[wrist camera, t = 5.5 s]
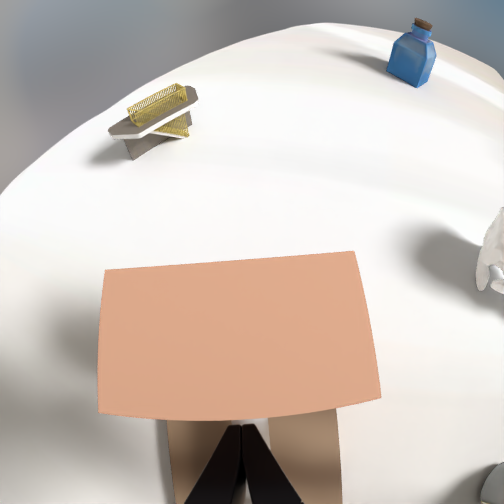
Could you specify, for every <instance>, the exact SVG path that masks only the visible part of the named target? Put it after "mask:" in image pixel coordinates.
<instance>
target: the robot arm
mask: <svg viewBox="0 0 504 504" xmlns="http://www.w3.org/2000/svg"><path fill="white" fill-rule="evenodd" d="M246 480H247V484H248V489H249V493H250V497H251V502H252V504H305V503H304V502H302V499H301V498H300V496H299V495H298V493H297V492H296V490H295V489H294V487H293V486H292V484H291V483H290V481H289V480H288V478H287V476H286V475H285V473H284V472H283V470H282V468H281V467H280V465H279V464H278V462H277V460H276V459H275V457H274V455H273V454H272V452H271V450H270V449H269V447H268V445H267V444H266V442H265V440H264V439H263V437H262V435H261V434H260V432H259V430H258V428H257V427H256V425H255V424H253V423H251V424H243V425H242V426H241V425H240V424H233V425H228V426H227V428H226V430H225V432H224V433H223V435H222V437H221V439H220V441H219V443H218V445H217V446H216V448H215V450H214V452H213V454H212V455H211V457H210V459H209V461H208V463H207V464H206V466H205V468H204V470H203V471H202V473H201V475H200V477H199V478H198V480H197V482H196V483H195V485H194V487H193V489H192V490H191V492H190V494H189V495H188V497H187V499H186V500H185V502H184V504H245V496H246Z"/></svg>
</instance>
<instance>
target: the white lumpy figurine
mask: <svg viewBox="0 0 504 504" xmlns="http://www.w3.org/2000/svg"><path fill="white" fill-rule="evenodd" d="M490 265H495V266H497V267H498V268H500V269H501V270H502V271H503V274H504V207H502V208H501V209H500V212H499V214H498V215H497V217H496V218H495V220H494V221H493V222H492V224H491V225H490V227H489V228H488V230H487V231H486V234H485V237H484V240H483V246H482V248H481V250H480V253H479V257H478V261H477V268H476V285H477V288H478V290H479V291H483V290H484V289H485V287H486V285H487V282H488V280H489V275H490V273H489V267H488V266H490ZM490 287H491V288H492V289H494V290H495V291H497V292H500V293H502V294H504V279H501V280H494V281H492V282H491V285H490Z"/></svg>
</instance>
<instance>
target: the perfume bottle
mask: <svg viewBox="0 0 504 504" xmlns="http://www.w3.org/2000/svg"><path fill="white" fill-rule="evenodd" d="M411 28H412V29H413V31H412V32H408V33H404V34H403V35H402V36H401V37H400V38H398V39H397V40H396V41H395V42H394V44H393V48H392V52H391V56H390V59H389V63H388V67H387V70H386V71H387V72H389V73H391V74H393V75H395V76H396V77H398V78H400V79H402V80H404V81H405V82H407V83H409V84H410V85H412V86H414V87H415V88H418V87H420V86H421V85H423V84H424V83H426V82H427V81H428V78H429V75H430V73H431V70H432V67H433V64H434V61H435V58H436V52H435V48H434V44H433V42H432V41H430V40H428V37H430V36H431V31H430V29H431V28H432V25H431V24H429V23H427V22H426V21H423V20H421V19H418V18H415V23H413V24H412V27H411Z"/></svg>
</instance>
